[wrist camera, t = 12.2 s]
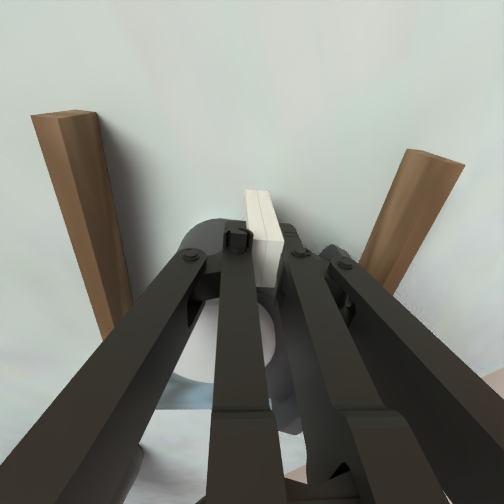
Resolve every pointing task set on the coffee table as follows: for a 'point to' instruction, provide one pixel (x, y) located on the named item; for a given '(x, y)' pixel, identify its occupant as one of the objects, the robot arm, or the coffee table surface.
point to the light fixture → (274, 346)
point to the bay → (110, 247)
